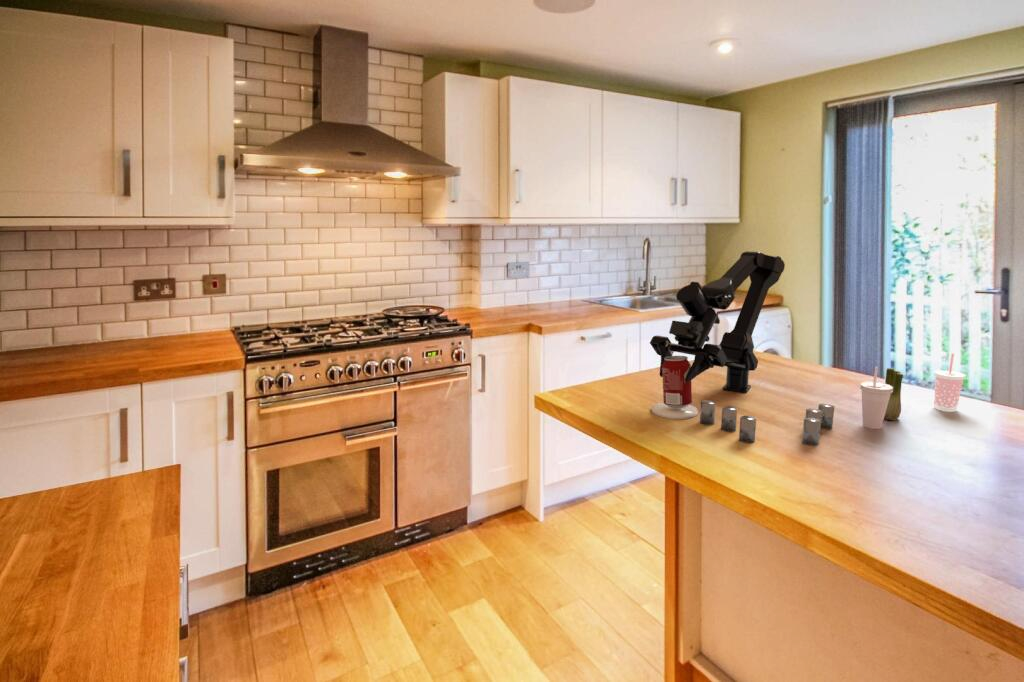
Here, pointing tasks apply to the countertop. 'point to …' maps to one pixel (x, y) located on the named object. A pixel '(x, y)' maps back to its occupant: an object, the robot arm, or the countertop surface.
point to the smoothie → (874, 402)
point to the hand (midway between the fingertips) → (673, 378)
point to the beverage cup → (948, 389)
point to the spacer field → (748, 423)
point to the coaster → (674, 411)
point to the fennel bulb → (893, 394)
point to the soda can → (676, 382)
